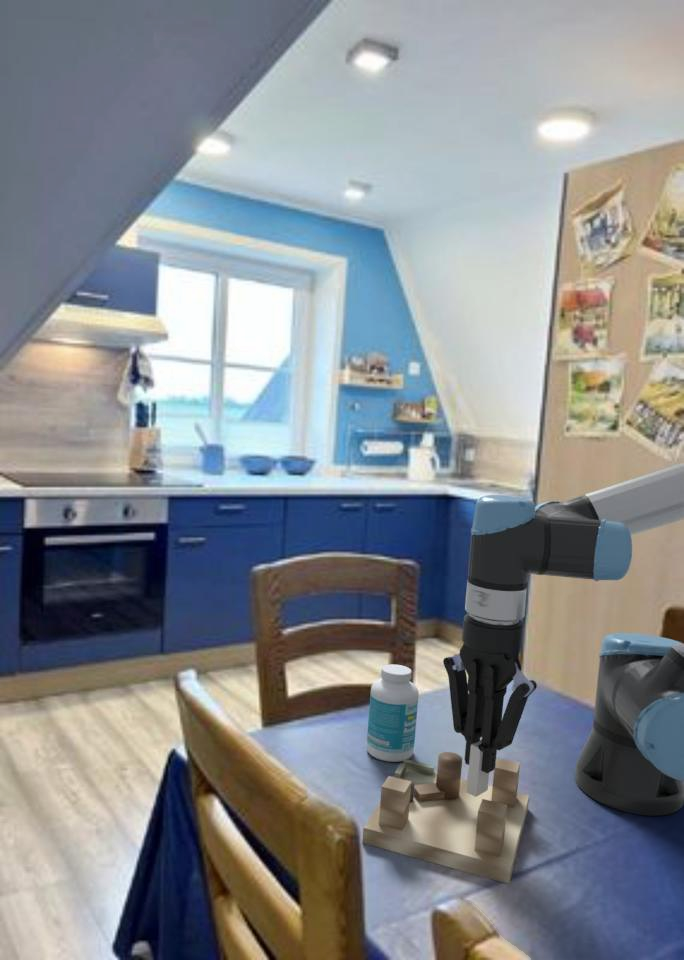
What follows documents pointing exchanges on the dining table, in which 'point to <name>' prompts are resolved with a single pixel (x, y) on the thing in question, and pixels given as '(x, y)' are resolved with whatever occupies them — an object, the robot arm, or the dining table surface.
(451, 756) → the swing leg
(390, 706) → the pill bottle
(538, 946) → the dining table surface
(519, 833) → the stool seat
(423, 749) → the dining table surface
